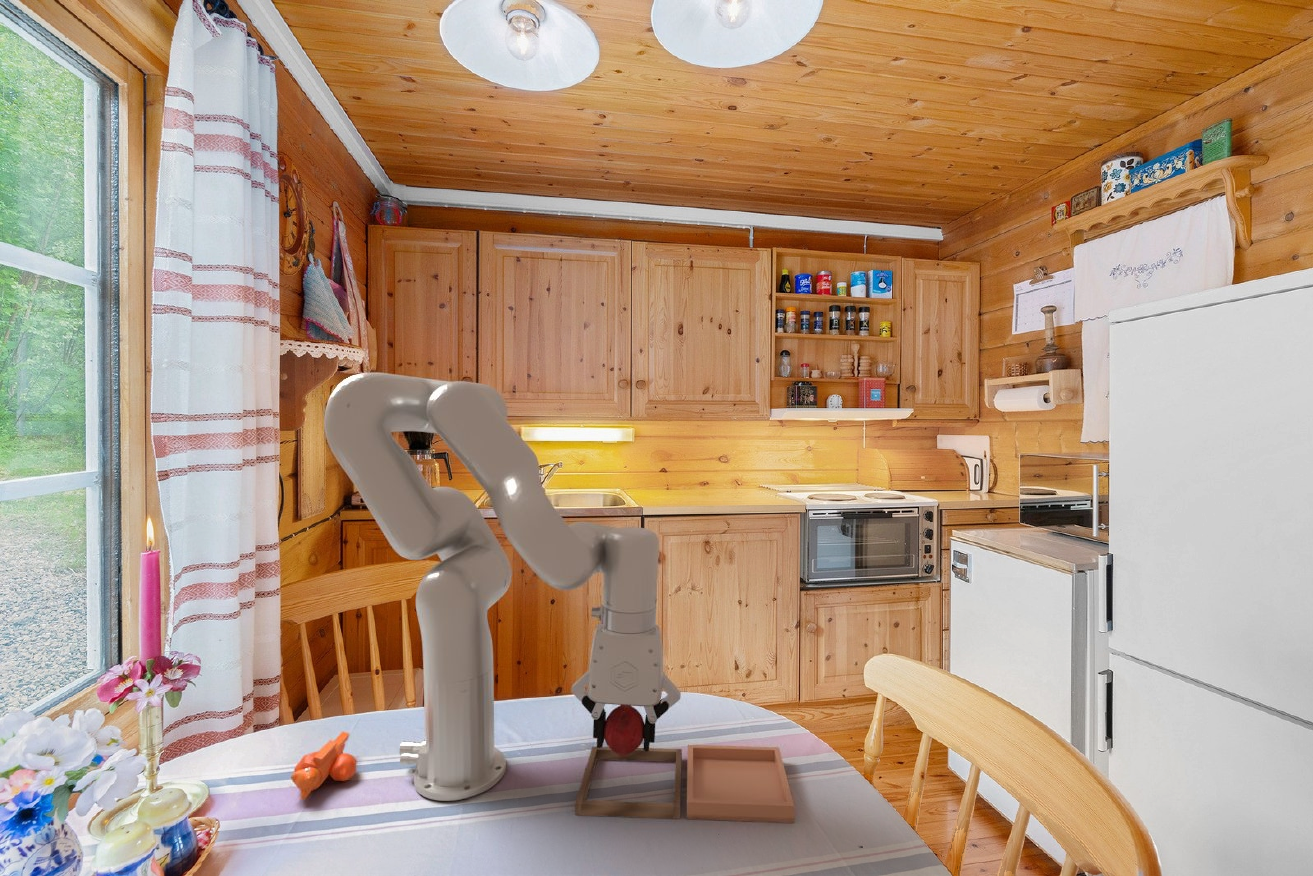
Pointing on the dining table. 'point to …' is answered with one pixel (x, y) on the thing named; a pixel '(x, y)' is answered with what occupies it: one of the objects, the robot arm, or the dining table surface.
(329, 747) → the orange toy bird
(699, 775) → the terracotta tray
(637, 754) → the walnut frame
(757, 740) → the dining table surface
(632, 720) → the onion
